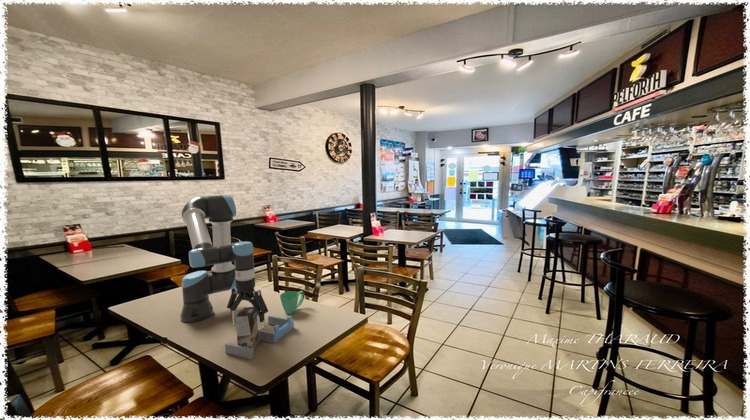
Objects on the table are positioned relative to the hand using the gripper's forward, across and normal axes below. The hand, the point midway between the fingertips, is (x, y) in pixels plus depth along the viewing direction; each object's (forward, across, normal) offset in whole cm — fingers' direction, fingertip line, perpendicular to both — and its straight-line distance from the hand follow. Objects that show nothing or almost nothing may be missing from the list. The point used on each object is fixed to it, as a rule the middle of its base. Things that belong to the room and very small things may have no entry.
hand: (248, 326), depth 123 cm
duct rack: (+9, +1, +7) cm, 11 cm away
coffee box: (+10, 0, 0) cm, 10 cm away
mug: (+9, -3, +36) cm, 38 cm away
